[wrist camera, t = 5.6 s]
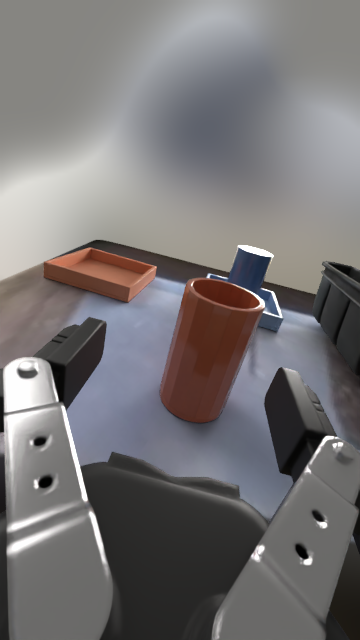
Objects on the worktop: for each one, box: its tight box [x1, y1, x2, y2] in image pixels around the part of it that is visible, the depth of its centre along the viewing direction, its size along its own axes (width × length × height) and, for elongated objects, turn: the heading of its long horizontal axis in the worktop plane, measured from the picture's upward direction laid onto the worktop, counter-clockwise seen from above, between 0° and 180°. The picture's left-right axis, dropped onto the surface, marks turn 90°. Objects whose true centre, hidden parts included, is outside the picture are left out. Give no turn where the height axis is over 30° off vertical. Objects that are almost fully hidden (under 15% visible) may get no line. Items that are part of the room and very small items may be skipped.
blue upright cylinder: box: [227, 245, 273, 296], centre depth 49 cm, size 6×6×10 cm
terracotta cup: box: [160, 278, 265, 423], centre depth 24 cm, size 6×6×11 cm
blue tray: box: [206, 273, 283, 332], centre depth 51 cm, size 14×14×2 cm
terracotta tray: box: [44, 248, 157, 303], centre depth 48 cm, size 14×14×2 cm
